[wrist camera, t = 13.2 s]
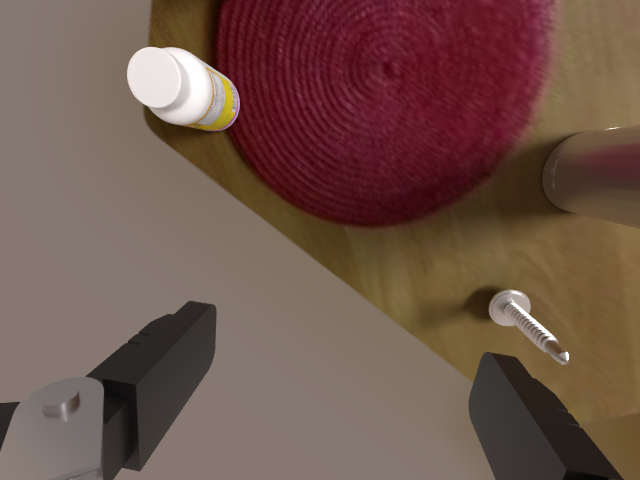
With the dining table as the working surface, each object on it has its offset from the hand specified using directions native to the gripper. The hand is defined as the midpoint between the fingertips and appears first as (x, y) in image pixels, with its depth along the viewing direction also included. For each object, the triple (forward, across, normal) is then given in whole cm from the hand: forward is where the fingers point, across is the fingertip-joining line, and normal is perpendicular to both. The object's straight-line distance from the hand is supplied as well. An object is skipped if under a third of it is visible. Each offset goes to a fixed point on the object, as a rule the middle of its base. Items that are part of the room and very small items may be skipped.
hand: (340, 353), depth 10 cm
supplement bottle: (+32, +18, -9) cm, 38 cm away
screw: (+32, -21, +11) cm, 40 cm away
